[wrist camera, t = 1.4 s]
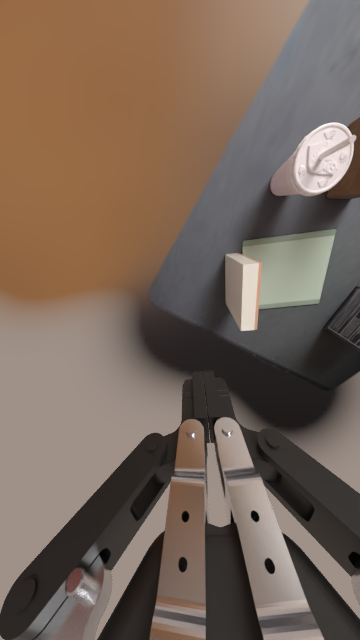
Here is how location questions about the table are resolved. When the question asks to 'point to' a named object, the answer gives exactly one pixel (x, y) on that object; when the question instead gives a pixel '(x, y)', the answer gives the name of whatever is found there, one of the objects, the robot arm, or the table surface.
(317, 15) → the table surface
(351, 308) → the small box
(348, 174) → the wooden block
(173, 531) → the robot arm
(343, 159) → the smoothie
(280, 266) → the mat
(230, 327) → the table surface
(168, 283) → the table surface
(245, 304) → the tile
